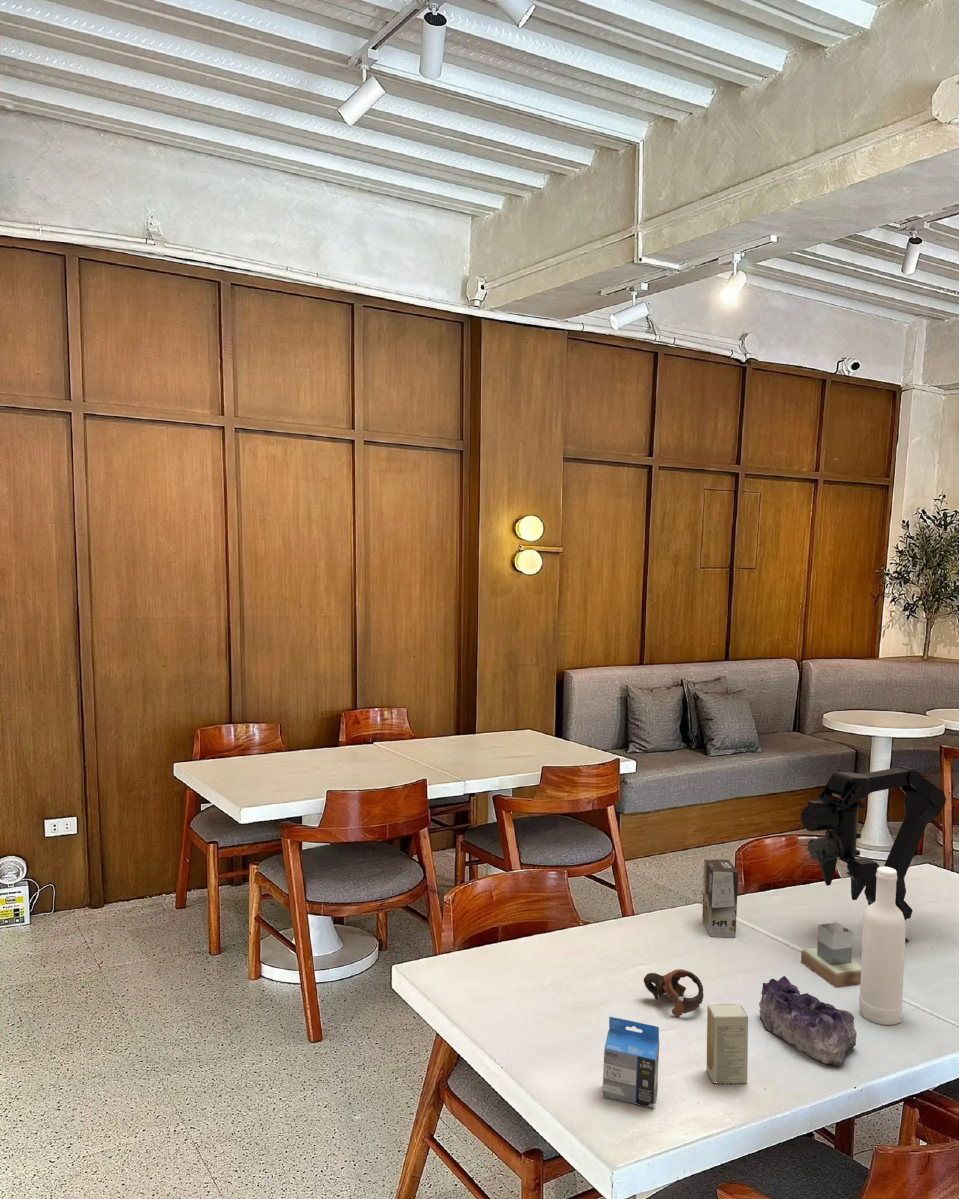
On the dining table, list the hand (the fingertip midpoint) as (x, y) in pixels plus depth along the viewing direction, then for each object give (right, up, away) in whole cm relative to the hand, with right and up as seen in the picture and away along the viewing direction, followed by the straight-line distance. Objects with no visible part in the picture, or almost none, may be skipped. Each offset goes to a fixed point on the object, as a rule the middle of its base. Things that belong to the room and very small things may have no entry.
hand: (840, 892), depth 209 cm
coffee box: (-27, -12, +9) cm, 31 cm away
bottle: (-5, -15, -31) cm, 34 cm away
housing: (-7, -11, -13) cm, 18 cm away
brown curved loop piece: (-46, -14, -28) cm, 56 cm away
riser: (-7, -14, -13) cm, 20 cm away
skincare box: (-42, -15, -53) cm, 69 cm away
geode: (-24, -15, -40) cm, 49 cm away
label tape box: (-60, -15, -59) cm, 86 cm away
